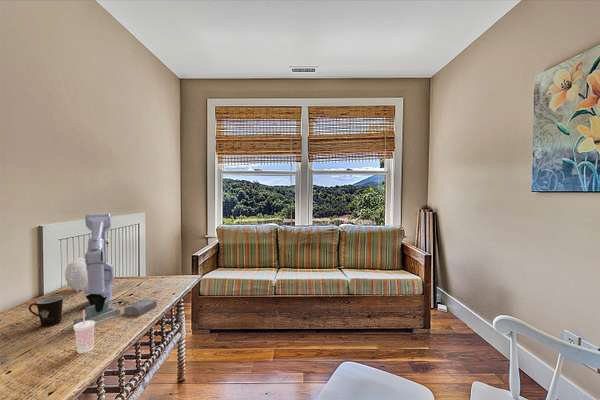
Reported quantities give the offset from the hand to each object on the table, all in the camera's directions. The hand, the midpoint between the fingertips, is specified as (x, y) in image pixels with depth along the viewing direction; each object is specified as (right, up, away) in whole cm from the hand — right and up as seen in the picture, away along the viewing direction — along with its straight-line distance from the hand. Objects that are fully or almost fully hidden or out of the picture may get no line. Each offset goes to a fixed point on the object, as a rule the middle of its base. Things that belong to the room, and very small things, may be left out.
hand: (97, 311), depth 130 cm
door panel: (0, -3, 0) cm, 3 cm away
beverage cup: (+11, -5, -23) cm, 26 cm away
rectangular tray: (0, -4, 0) cm, 4 cm away
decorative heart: (-36, -3, +39) cm, 53 cm away
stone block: (+12, -4, +11) cm, 17 cm away
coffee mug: (-19, -5, -1) cm, 20 cm away
